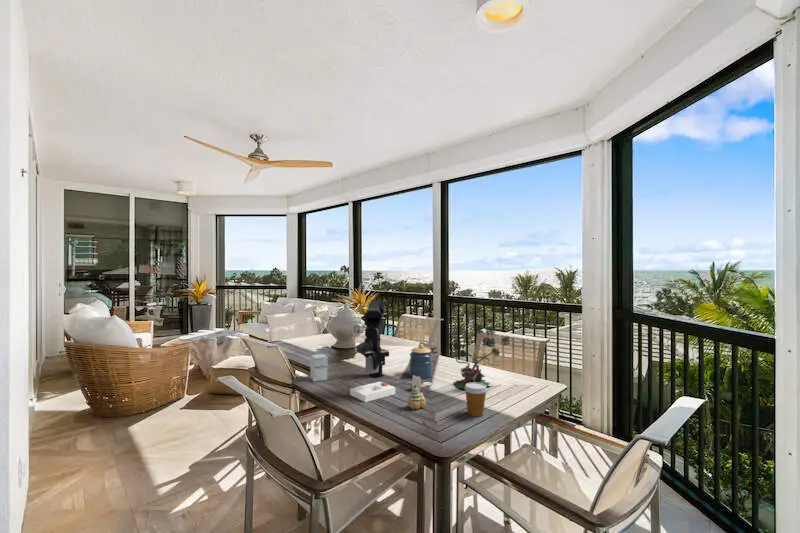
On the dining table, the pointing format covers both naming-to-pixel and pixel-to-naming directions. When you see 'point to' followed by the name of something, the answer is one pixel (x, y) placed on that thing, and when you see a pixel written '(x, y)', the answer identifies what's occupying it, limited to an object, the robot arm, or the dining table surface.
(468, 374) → the bonsai tree
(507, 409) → the dining table surface
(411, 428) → the dining table surface
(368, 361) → the plug
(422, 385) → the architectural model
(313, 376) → the supplement box
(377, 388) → the socket
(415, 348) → the canister
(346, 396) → the dining table surface
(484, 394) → the disposable coffee cup
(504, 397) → the dining table surface
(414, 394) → the ornament
